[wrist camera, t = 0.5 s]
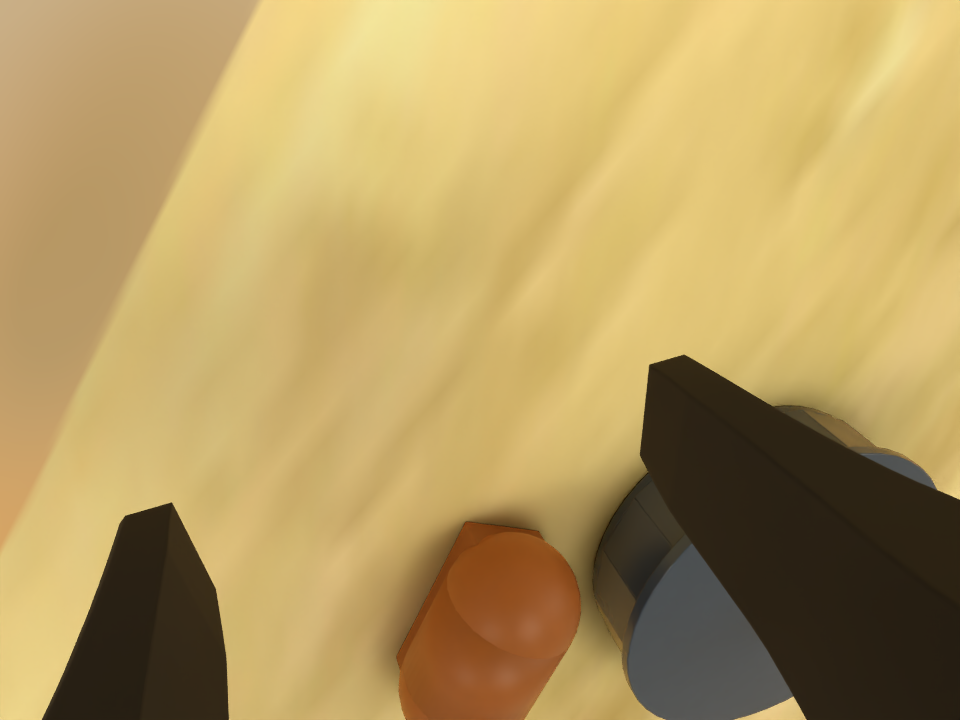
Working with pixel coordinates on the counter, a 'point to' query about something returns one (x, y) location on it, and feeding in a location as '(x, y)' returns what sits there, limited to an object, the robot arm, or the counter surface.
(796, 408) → the pot
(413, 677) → the orange capsule
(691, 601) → the pot lid
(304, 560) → the counter surface
